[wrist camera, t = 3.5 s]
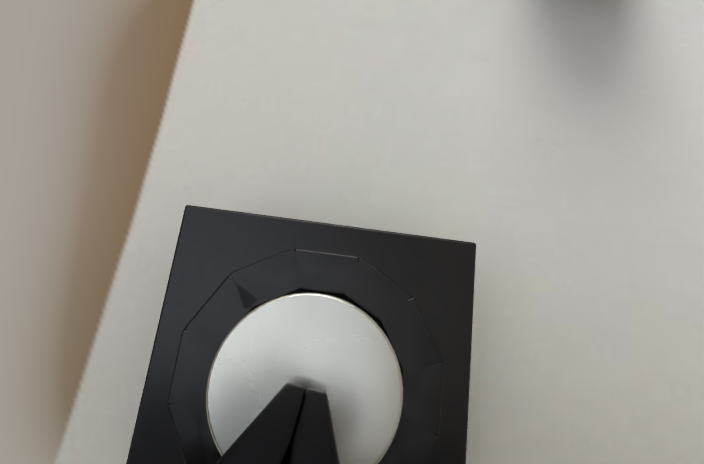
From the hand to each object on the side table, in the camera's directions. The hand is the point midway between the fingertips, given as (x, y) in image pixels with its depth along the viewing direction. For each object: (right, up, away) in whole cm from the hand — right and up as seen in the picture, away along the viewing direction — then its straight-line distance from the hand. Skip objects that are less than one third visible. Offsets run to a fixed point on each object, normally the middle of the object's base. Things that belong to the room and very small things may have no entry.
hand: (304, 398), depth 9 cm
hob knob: (0, -1, +3) cm, 3 cm away
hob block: (-1, -2, +9) cm, 9 cm away
